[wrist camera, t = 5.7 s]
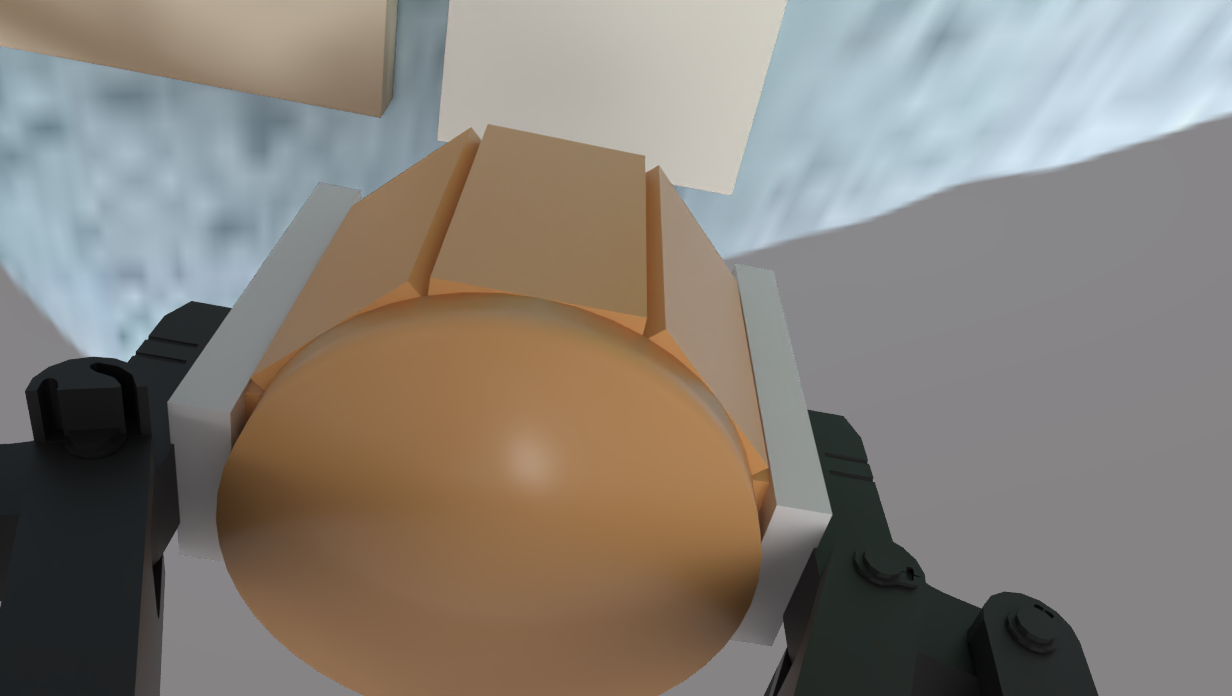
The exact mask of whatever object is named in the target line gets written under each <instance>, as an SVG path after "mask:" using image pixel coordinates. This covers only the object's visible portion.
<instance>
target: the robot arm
mask: <svg viewBox="0 0 1232 696" xmlns="http://www.w3.org/2000/svg"><path fill="white" fill-rule="evenodd" d="M359 201H361V190H356V189H351V188H346V187H340V186H335V185H330V184H325V183H320V182H319V183H318V185H317V186H316V188H315V189H314V191H313V192H312V194H311V195H310V196H309V198H308V199H307V201H306V202H305V204H304V205H303V207H302V208H301V209H300V211H299V212H298V214H297V215H296V217H295V218H294V220H293V221H292V222H291V224H290V225H289V227H288V228H287V230H286V231H285V233H284V234H283V235H282V237H281V238H280V240H279V241H278V243H277V244H276V246H275V247H274V249H273V250H272V251H271V253H270V254H269V256H268V257H267V259H266V260H265V262H264V263H263V264H262V266H261V267H260V269H259V270H258V272H257V273H256V275H255V276H254V277H253V279H252V280H251V282H250V283H249V285H248V286H247V288H246V289H245V290H244V292H243V293H242V295H241V296H240V298H239V299H238V301H237V302H236V303H235V305H234V306H233V308H227V307H222V306H216V305H211V304H205V303H200V302H194V301H191V302H189V303H187V304H185V305H184V306H182V307H180V308H178V309H176V310H175V311H173V312H171V313H169V314H167V315H165V316H164V317H163V318H162V320H161V321H160V322H159V323H158V325H157V326H156V327H155V328H154V330H153V331H152V332H151V334H150V335H149V338H148V340H145V341H144V342H143V344H142V345H141V346H140V347H139V349H138V350H137V351H136V355H135V356H132V357H131V359H130V360H129V361H128V362H124V361H121V360H118V359H115V358H103V357H87V358H79V359H71V360H67V361H64V362H62V363H59V364H56V365H53V366H51V367H48V368H47V369H45V370H44V371H42V372H41V373H39V374H38V375H37V376H35V377H34V378H33V379H32V380H31V382H30V384H29V385H28V387H27V389H26V391H25V393H26V399H27V404H28V410H29V414H30V420H31V425H32V431H33V436H34V441H30V442H22V443H14V444H0V601H2V602H1V607H0V696H160V675H161V653H162V632H163V609H164V587H165V567H164V556H163V552H164V550H165V549H166V547H167V545H168V543H169V542H170V540H171V538H172V537H173V535H174V533H175V531H176V529H178V541H179V553H180V555H184V556H191V557H197V558H204V559H210V560H217V561H224V558H223V555H222V552H221V549H220V546H219V539H218V532H217V525H216V507H217V493H218V489H219V485H220V481H221V476H222V472H223V469H224V466H225V464H226V462H227V460H228V458H229V456H230V453H231V451H232V449H233V447H234V445H235V443H236V441H237V439H238V437H239V436H240V434H241V432H242V430H243V429H244V427H245V425H246V409H245V392H246V390H247V389H248V387H249V385H250V384H251V382H252V379H251V378H250V377H251V375H252V374H253V372H254V370H255V369H256V367H257V365H258V364H259V362H260V360H261V359H262V357H263V355H264V354H265V352H266V350H267V348H268V347H269V345H270V343H271V342H272V340H273V338H274V337H275V335H276V333H277V332H278V330H279V328H280V326H281V325H282V323H283V321H284V320H285V318H286V316H287V315H288V313H289V311H290V310H291V308H292V306H293V305H294V303H295V301H296V299H297V298H298V296H299V294H300V293H301V291H302V289H303V288H304V286H305V284H306V283H307V281H308V279H309V277H310V276H311V274H312V272H313V271H314V269H315V267H316V266H317V264H318V262H319V261H320V259H321V257H322V256H323V254H324V252H325V250H326V249H327V247H328V245H329V244H330V242H331V240H332V239H333V237H334V235H335V234H336V232H337V230H338V229H339V227H340V225H341V223H342V222H343V220H344V218H345V217H346V215H347V213H348V212H349V210H350V208H351V207H352V206H353V205H354V204H356V203H358V202H359ZM732 275H733V276H734V278H735V279H736V281H737V287H738V292H739V298H740V304H741V310H742V316H743V321H744V327H745V333H746V339H747V345H748V351H749V356H750V362H751V368H752V374H753V380H754V386H755V391H756V397H757V403H758V409H759V415H760V421H761V426H762V432H763V438H764V444H765V450H766V455H767V461H768V467H769V468H768V472H769V477H770V485H769V488H768V490H767V493H766V495H765V498H764V500H763V503H762V505H761V508H760V510H759V513H758V519H759V526H760V534H761V553H762V558H761V566H760V573H759V581H758V584H757V587H756V591H755V594H754V597H753V600H752V603H751V606H750V607H749V609H748V611H747V613H746V615H745V617H744V619H743V621H742V622H741V624H740V626H739V628H738V629H737V630H736V632H735V633H734V634H733V636H732V637H731V638H730V640H735V641H742V642H748V643H755V644H761V645H768V646H772V644H773V642H774V640H775V638H776V636H777V634H778V631H779V629H780V627H781V625H782V622H784V628H785V634H786V641H787V648H786V650H785V652H784V655H783V657H782V659H781V661H780V663H779V665H778V667H777V669H776V671H775V673H774V676H773V678H772V680H771V682H770V684H769V686H768V688H767V690H766V692H765V694H764V696H1098V693H1097V690H1096V687H1095V685H1094V682H1093V679H1092V676H1091V673H1090V670H1089V667H1088V664H1087V661H1086V658H1085V656H1084V653H1083V650H1082V647H1081V644H1080V642H1079V640H1078V638H1077V636H1076V635H1075V633H1074V631H1073V629H1072V628H1071V626H1070V625H1069V624H1068V623H1067V622H1066V621H1065V620H1064V619H1063V618H1062V617H1061V616H1060V615H1059V614H1058V613H1057V612H1056V611H1054V610H1053V609H1051V608H1050V607H1048V606H1047V605H1045V604H1044V603H1042V602H1041V601H1039V600H1037V599H1034V598H1032V597H1029V596H1026V595H1024V594H1021V593H1012V592H1002V593H998V594H996V595H992V596H991V597H990V598H989V599H988V601H987V602H986V603H985V605H984V606H983V608H982V609H981V608H979V607H976V606H974V605H971V604H969V603H967V602H964V601H962V600H960V599H957V598H955V597H952V596H950V595H948V594H945V593H943V592H941V591H939V590H937V589H935V588H933V587H931V586H930V585H928V584H927V583H926V582H925V574H924V572H923V571H922V569H921V567H920V566H919V564H918V562H917V561H916V559H915V558H913V557H912V556H911V555H910V554H909V553H908V552H907V551H906V550H905V549H904V548H903V547H901V546H899V545H897V544H896V543H894V542H893V540H892V538H891V534H890V531H889V527H888V524H887V521H886V518H885V514H884V511H883V508H882V504H881V501H880V498H879V495H878V491H877V488H876V485H875V482H873V475H872V472H871V469H870V466H869V464H867V461H868V459H867V455H866V452H865V449H864V446H863V442H862V440H861V437H860V436H859V435H858V434H857V432H856V431H855V430H854V429H853V427H852V426H851V425H850V424H849V423H848V421H847V420H846V419H845V418H844V416H839V415H834V414H828V413H822V412H817V411H812V410H807V407H806V403H805V399H804V395H803V390H802V386H801V382H800V378H799V374H798V369H797V366H796V361H795V357H794V353H793V349H792V345H791V340H790V336H789V332H788V328H787V324H786V320H785V315H784V311H783V307H782V303H781V299H780V295H779V291H778V287H777V282H776V278H775V274H774V271H773V270H768V269H763V268H758V267H753V266H748V265H743V264H737V263H735V265H734V268H733V271H732ZM224 562H225V561H224Z"/></svg>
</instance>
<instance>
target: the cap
mask: <svg viewBox="0 0 1232 696" xmlns="http://www.w3.org/2000/svg"><path fill="white" fill-rule="evenodd" d="M250 378H251V379H252V382H251V384H250V385H249V387H248V389H247V390H246V392H245V409H246V425H245V427H244V429H243V430H242V432H241V434H240V436H239V437H238V439H237V441H236V443H235V445H234V447H233V449H232V451H231V453H230V456H229V458H228V460H227V462H226V464H225V466H224V469H223V472H222V476H221V481H220V485H219V489H218V493H217V507H216V525H217V532H218V539H219V546H220V549H221V552H222V555H223V558H224V561H225V564H226V567H227V570H228V572H229V574H230V576H231V578H232V580H233V582H234V584H235V586H236V588H237V590H238V592H239V594H240V596H241V597H242V598H243V600H244V601H245V603H246V604H247V605H248V607H249V608H250V610H251V611H252V613H253V614H254V615H255V617H256V618H257V619H258V620H259V621H260V622H261V623H262V624H263V625H264V626H265V628H266V629H267V630H268V631H269V632H270V633H271V634H272V635H273V636H274V637H275V638H276V639H277V640H278V641H279V642H280V643H282V644H283V645H284V646H285V647H287V649H289V650H290V651H291V652H292V653H293V654H295V656H297V657H298V658H300V659H301V660H303V661H304V662H306V663H307V664H308V665H310V666H311V667H313V668H314V669H315V670H317V671H318V672H320V673H322V674H323V675H325V676H327V677H329V678H330V679H332V680H334V681H336V682H338V683H339V684H341V685H343V686H345V687H347V688H349V689H351V690H353V691H356V692H358V693H360V694H362V695H364V696H658V695H660V694H662V693H664V692H666V691H668V690H669V689H671V688H673V687H674V686H676V685H678V684H680V683H681V682H683V681H685V680H686V679H687V678H689V677H690V676H691V675H693V674H694V673H695V672H696V671H698V670H699V669H701V668H702V667H703V666H705V665H706V664H707V663H708V662H709V661H710V660H711V659H712V658H713V657H714V656H715V655H716V654H717V653H718V652H719V651H720V650H721V649H722V648H723V647H724V646H725V645H726V644H727V642H728V641H729V640H730V638H731V637H732V636H733V634H734V633H735V632H736V630H737V629H738V628H739V626H740V624H741V622H742V621H743V619H744V617H745V615H746V613H747V611H748V609H749V607H750V606H751V603H752V600H753V597H754V594H755V591H756V587H757V584H758V581H759V573H760V566H761V558H762V553H761V534H760V526H759V519H758V513H759V510H760V508H761V505H762V503H763V500H764V498H765V495H766V493H767V490H768V488H769V485H770V477H769V472H768V468H769V467H768V461H767V455H766V450H765V444H764V438H763V432H762V426H761V421H760V415H759V409H758V403H757V397H756V391H755V386H754V380H753V374H752V368H751V362H750V356H749V351H748V345H747V339H746V333H745V327H744V321H743V316H742V310H741V304H740V298H739V292H738V287H737V281H736V279H735V278H734V276H733V275H732V273H731V272H730V270H729V269H728V267H727V266H726V264H725V263H724V261H723V260H722V258H721V257H720V255H719V254H718V252H717V251H716V249H715V248H714V246H713V245H712V243H711V242H710V240H709V239H708V237H707V236H706V234H705V233H704V231H703V230H702V228H701V227H700V225H699V224H698V222H697V221H696V219H695V218H694V216H693V215H692V213H691V212H690V210H689V209H688V207H687V206H686V204H685V203H684V201H683V200H682V198H681V197H680V196H679V194H678V193H677V191H676V190H675V188H674V187H673V185H672V184H671V182H670V181H669V179H668V178H667V176H666V175H665V173H664V172H663V170H662V169H661V167H660V166H659V165H658V166H656V167H655V168H653V169H651V170H650V171H648V172H646V173H645V156H644V155H639V154H634V153H629V152H624V151H619V150H614V149H609V148H604V147H599V146H594V145H590V144H585V143H580V142H575V141H570V140H565V139H560V138H555V137H550V136H545V135H540V134H536V133H531V132H526V131H521V130H516V129H511V128H506V127H501V126H496V125H491V124H488V125H487V127H486V130H485V133H484V135H483V138H482V140H481V139H480V137H479V136H478V135H477V134H476V132H475V131H474V130H473V128H472V127H470V128H469V129H467V130H466V131H464V132H463V133H461V134H460V135H458V136H457V137H455V138H454V139H452V140H451V141H449V142H448V143H446V144H445V145H443V146H442V147H440V148H439V149H437V150H436V151H434V152H433V153H431V154H430V155H428V156H427V157H425V158H424V159H422V160H421V161H419V162H418V163H416V164H415V165H413V166H412V167H410V168H409V169H407V170H406V171H404V172H403V173H401V174H400V175H398V176H397V177H395V178H394V179H392V180H391V181H389V182H388V183H386V184H385V185H383V186H382V187H380V188H379V189H377V190H376V191H374V192H373V193H371V194H370V195H368V196H367V197H365V198H364V199H362V200H361V201H359V202H358V203H356V204H354V205H353V206H352V207H351V208H350V210H349V212H348V213H347V215H346V217H345V218H344V220H343V222H342V223H341V225H340V227H339V229H338V230H337V232H336V234H335V235H334V237H333V239H332V240H331V242H330V244H329V245H328V247H327V249H326V250H325V252H324V254H323V256H322V257H321V259H320V261H319V262H318V264H317V266H316V267H315V269H314V271H313V272H312V274H311V276H310V277H309V279H308V281H307V283H306V284H305V286H304V288H303V289H302V291H301V293H300V294H299V296H298V298H297V299H296V301H295V303H294V305H293V306H292V308H291V310H290V311H289V313H288V315H287V316H286V318H285V320H284V321H283V323H282V325H281V326H280V328H279V330H278V332H277V333H276V335H275V337H274V338H273V340H272V342H271V343H270V345H269V347H268V348H267V350H266V352H265V354H264V355H263V357H262V359H261V360H260V362H259V364H258V365H257V367H256V369H255V370H254V372H253V374H252V375H251V377H250Z"/></svg>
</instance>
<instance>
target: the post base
mask: <svg viewBox="0 0 1232 696" xmlns="http://www.w3.org/2000/svg"><path fill="white" fill-rule="evenodd" d="M397 7H398V0H0V46H3V47H9V48H14V49H19V50H25V51H30V52H35V53H40V54H46V55H51V56H56V57H62V58H67V59H72V60H77V61H83V62H88V63H93V64H99V65H104V66H109V67H115V68H120V69H125V70H130V71H136V72H141V73H146V74H152V75H157V76H162V77H167V78H173V79H178V80H183V81H189V82H194V83H199V84H204V85H210V86H215V87H220V88H226V89H231V90H236V91H242V92H247V93H252V94H257V95H263V96H268V97H273V98H279V99H284V100H289V101H294V102H300V103H305V104H310V105H316V106H321V107H326V108H331V109H337V110H342V111H347V112H353V113H358V114H363V115H369V116H374V117H379V118H381V116H382V115H383V113H384V111H385V110H386V108H387V107H388V105H389V104H390V102H391V100H392V93H393V76H394V59H395V41H396V24H397Z"/></svg>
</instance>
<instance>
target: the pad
mask: <svg viewBox="0 0 1232 696" xmlns="http://www.w3.org/2000/svg"><path fill="white" fill-rule="evenodd" d="M787 1H788V0H449V11H448V22H447V34H446V45H445V56H444V67H443V79H442V90H441V101H440V113H439V124H438V135H437V140H438V141H443V142H449V141H451V140H452V139H454V138H455V137H457V136H458V135H460V134H461V133H463V132H464V131H466V130H467V129H469V128H470V127H472V128H473V130H474V131H475V132H476V134H477V135H478V136H479V137H480V139H481V140H482V138H483V135H484V133H485V130H486V127H487V125H488V124H491V125H496V126H501V127H506V128H511V129H516V130H521V131H526V132H531V133H536V134H540V135H545V136H550V137H555V138H560V139H565V140H570V141H575V142H580V143H585V144H590V145H594V146H599V147H604V148H609V149H614V150H619V151H624V152H629V153H634V154H639V155H644V156H645V173H646V172H648V171H650V170H651V169H653V168H655V167H656V166H658V165H659V166H660V167H661V169H662V170H663V172H664V173H665V175H666V176H667V178H668V179H669V181H670V182H671V184H672V185H677V186H683V187H688V188H693V189H699V190H704V191H709V192H715V193H720V194H725V195H731V196H732V193H733V189H734V186H735V182H736V179H737V175H738V172H739V168H740V165H741V161H742V158H743V155H744V151H745V148H746V144H747V141H748V137H749V134H750V130H751V127H752V123H753V120H754V116H755V113H756V109H757V106H758V102H759V99H760V95H761V92H762V88H763V85H764V81H765V78H766V74H767V71H768V67H769V64H770V60H771V57H772V53H773V50H774V46H775V43H776V39H777V36H778V32H779V29H780V25H781V22H782V18H783V15H784V11H785V8H786V4H787Z"/></svg>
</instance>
